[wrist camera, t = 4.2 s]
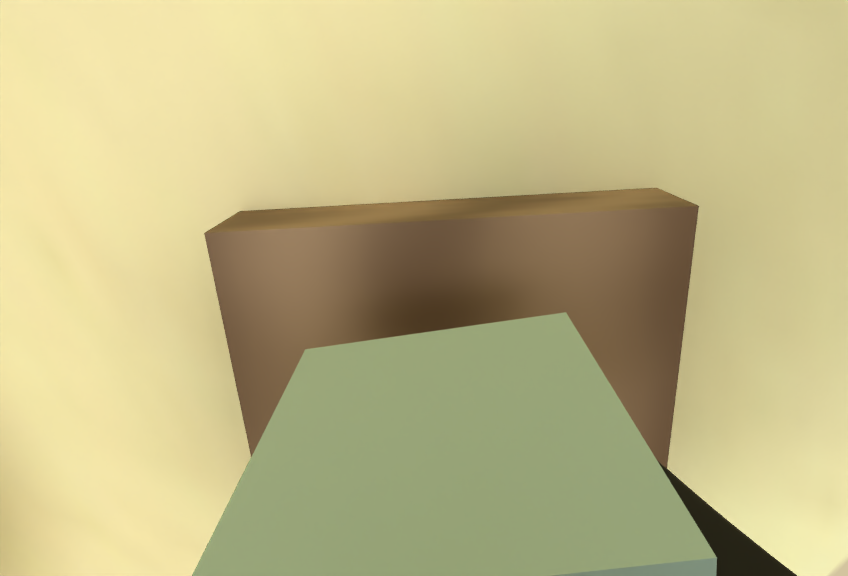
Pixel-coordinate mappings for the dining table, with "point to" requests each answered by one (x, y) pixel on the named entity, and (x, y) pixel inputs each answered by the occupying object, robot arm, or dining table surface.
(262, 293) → the walnut box
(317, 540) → the sage block
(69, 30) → the dining table surface
